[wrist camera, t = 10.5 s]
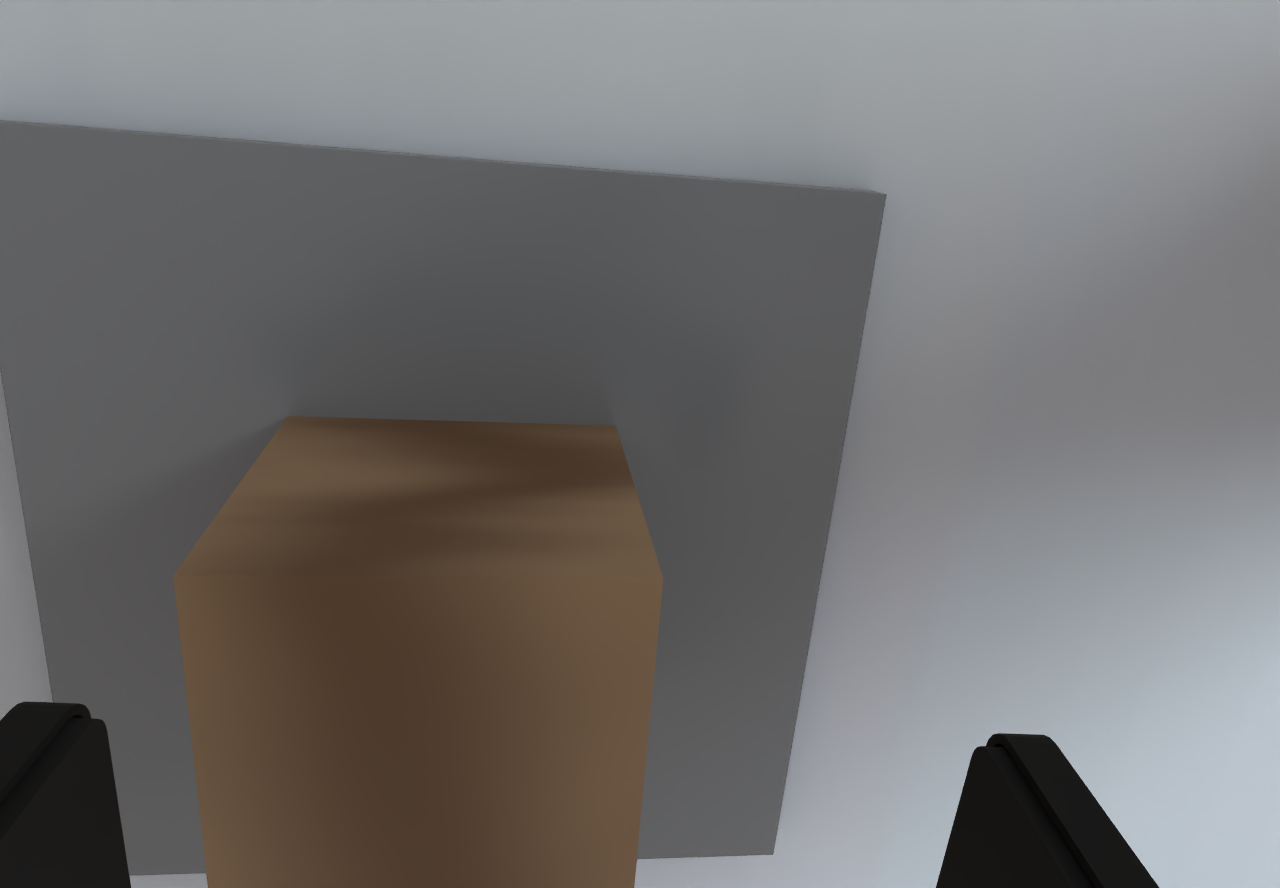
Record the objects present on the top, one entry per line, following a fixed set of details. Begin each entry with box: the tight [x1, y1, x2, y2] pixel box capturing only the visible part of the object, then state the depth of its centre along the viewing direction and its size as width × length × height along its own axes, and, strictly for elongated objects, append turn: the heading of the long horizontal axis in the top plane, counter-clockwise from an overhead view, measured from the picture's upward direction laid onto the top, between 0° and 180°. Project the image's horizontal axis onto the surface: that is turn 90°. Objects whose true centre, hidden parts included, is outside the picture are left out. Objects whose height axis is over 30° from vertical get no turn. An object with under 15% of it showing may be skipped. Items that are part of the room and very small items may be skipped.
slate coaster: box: [0, 120, 887, 875], centre depth 17 cm, size 14×14×1 cm
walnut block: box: [173, 416, 663, 888], centre depth 14 cm, size 6×6×6 cm
